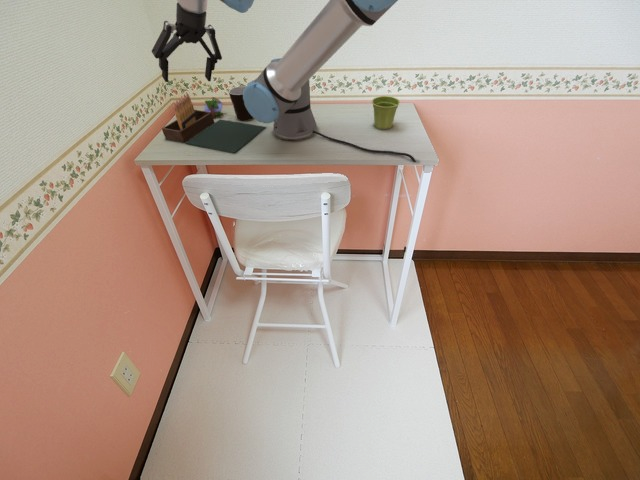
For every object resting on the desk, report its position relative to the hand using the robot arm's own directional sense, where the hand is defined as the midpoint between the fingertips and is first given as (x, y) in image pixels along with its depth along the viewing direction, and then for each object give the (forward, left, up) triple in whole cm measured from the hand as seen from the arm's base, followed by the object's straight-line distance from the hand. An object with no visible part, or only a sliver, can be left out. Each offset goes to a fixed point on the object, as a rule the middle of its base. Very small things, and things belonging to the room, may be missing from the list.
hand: (187, 79), depth 105 cm
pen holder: (+6, -1, -19) cm, 20 cm away
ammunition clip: (+6, -1, -19) cm, 20 cm away
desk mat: (-9, -2, -19) cm, 21 cm away
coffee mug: (-6, -19, -19) cm, 27 cm away
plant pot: (-58, -27, -19) cm, 67 cm away
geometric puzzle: (+6, -15, -19) cm, 25 cm away
